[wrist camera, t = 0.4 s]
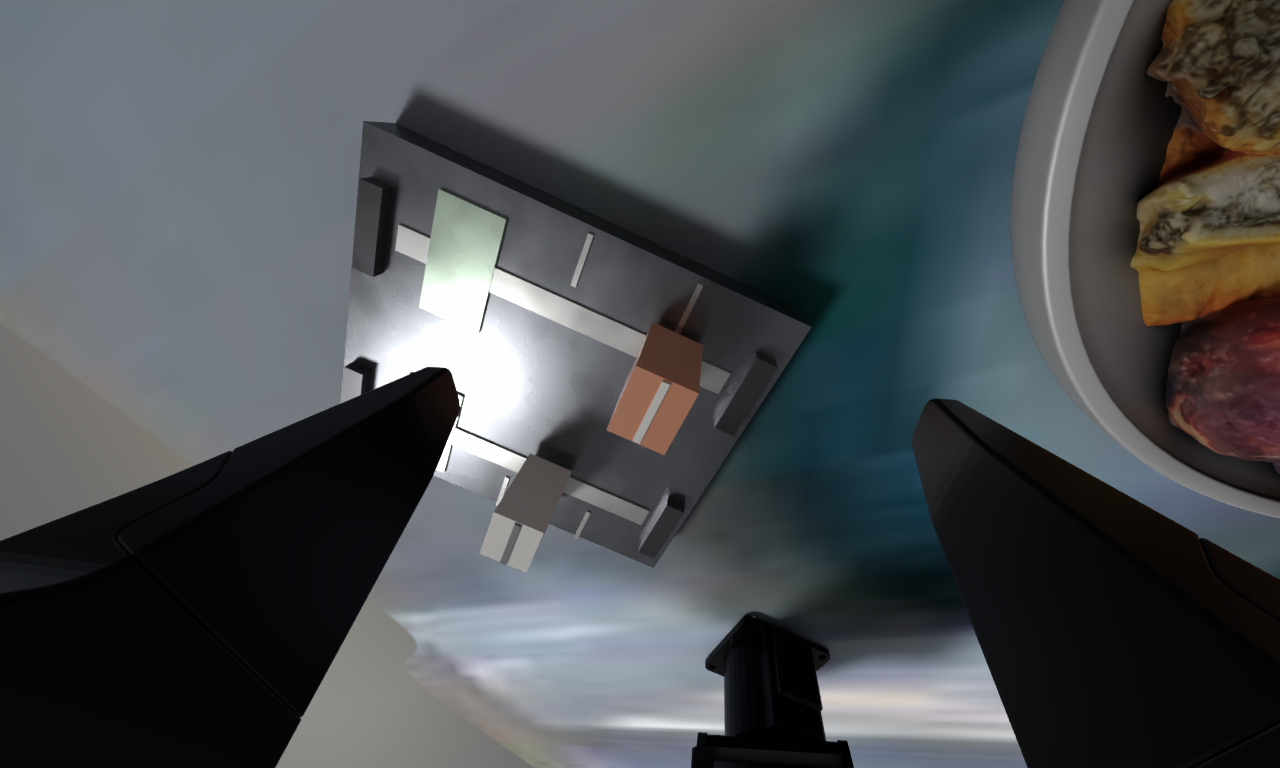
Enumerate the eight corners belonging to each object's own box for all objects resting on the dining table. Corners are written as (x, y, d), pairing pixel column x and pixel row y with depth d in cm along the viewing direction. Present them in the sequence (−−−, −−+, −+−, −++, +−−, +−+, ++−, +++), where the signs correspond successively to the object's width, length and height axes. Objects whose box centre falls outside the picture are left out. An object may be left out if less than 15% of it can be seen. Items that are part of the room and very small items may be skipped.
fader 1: (555, 508, 26) (525, 574, 22) (515, 491, 25) (478, 555, 22) (571, 471, 24) (543, 535, 20) (529, 453, 24) (493, 513, 20)
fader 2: (674, 398, 21) (663, 456, 17) (627, 377, 21) (605, 431, 17) (703, 345, 20) (698, 394, 16) (652, 322, 20) (635, 366, 16)
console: (656, 544, 29) (650, 579, 27) (361, 419, 28) (329, 444, 26) (803, 311, 21) (814, 333, 19) (394, 123, 20) (351, 120, 18)
